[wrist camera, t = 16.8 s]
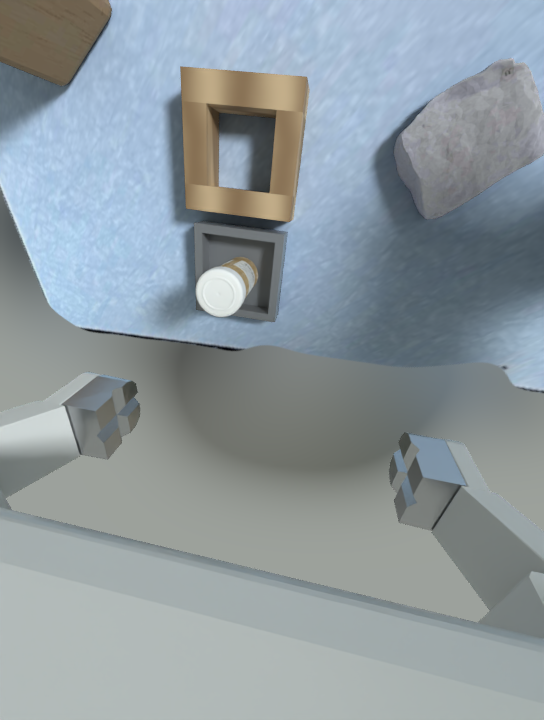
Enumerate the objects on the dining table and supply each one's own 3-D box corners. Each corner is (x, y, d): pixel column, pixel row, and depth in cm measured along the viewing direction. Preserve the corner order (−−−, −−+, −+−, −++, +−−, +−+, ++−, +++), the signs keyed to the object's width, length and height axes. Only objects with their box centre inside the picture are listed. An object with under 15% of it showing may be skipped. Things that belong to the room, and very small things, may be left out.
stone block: (381, 149, 33) (423, 229, 35) (385, 132, 29) (433, 224, 30) (496, 60, 29) (540, 155, 30) (522, 24, 24) (572, 137, 26)
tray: (287, 231, 37) (284, 234, 35) (277, 314, 43) (274, 322, 40) (203, 220, 38) (193, 222, 36) (204, 302, 44) (196, 309, 41)
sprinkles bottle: (222, 258, 39) (189, 271, 27) (256, 254, 39) (238, 265, 26) (228, 293, 41) (199, 320, 29) (261, 290, 40) (246, 315, 28)
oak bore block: (309, 90, 30) (306, 76, 27) (293, 219, 36) (289, 221, 33) (196, 80, 31) (180, 66, 28) (199, 207, 37) (185, 208, 34)
